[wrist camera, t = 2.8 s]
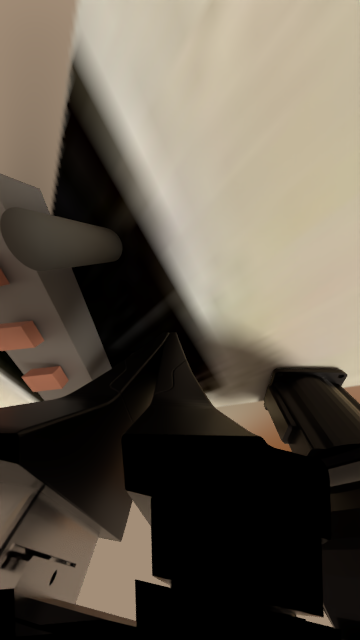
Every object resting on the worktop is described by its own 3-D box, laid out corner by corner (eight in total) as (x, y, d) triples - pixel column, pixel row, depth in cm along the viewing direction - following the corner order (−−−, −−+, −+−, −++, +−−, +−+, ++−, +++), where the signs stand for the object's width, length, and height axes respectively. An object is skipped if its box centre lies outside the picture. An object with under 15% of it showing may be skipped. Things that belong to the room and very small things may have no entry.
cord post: (117, 226, 11) (38, 203, 5) (125, 260, 12) (66, 269, 6) (89, 229, 11) (-13, 211, 6) (99, 262, 12) (22, 273, 7)
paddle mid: (32, 320, 12) (20, 326, 11) (44, 340, 13) (34, 347, 12) (-3, 324, 12) (-17, 330, 11) (12, 344, 12) (0, 351, 12)
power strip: (40, 188, 10) (-17, 167, 7) (117, 382, 19) (104, 404, 16) (-46, 204, 11) (-121, 190, 9) (65, 380, 20) (44, 400, 17)
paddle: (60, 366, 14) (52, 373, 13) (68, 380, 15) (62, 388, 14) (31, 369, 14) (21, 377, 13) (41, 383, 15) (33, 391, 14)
